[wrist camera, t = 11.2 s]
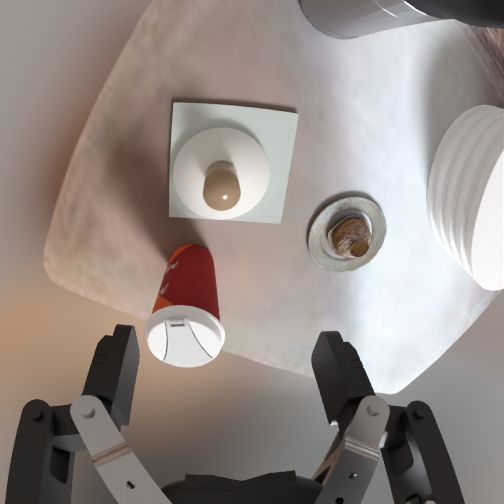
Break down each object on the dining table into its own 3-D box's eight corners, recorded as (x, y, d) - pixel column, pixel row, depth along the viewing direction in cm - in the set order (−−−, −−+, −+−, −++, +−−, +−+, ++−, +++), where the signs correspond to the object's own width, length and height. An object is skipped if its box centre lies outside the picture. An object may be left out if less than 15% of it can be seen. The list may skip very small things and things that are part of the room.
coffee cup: (157, 239, 38) (131, 317, 25) (218, 233, 39) (220, 312, 26) (168, 289, 42) (155, 372, 30) (224, 285, 43) (229, 369, 30)
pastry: (388, 249, 43) (402, 265, 40) (320, 280, 45) (329, 299, 41) (373, 181, 37) (390, 193, 33) (294, 215, 39) (302, 231, 35)
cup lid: (176, 124, 30) (165, 133, 24) (274, 131, 32) (287, 142, 26) (173, 213, 36) (164, 241, 30) (261, 218, 38) (270, 247, 32)
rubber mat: (174, 102, 30) (173, 102, 29) (297, 113, 32) (298, 113, 31) (169, 215, 37) (169, 217, 36) (279, 221, 39) (280, 223, 38)
